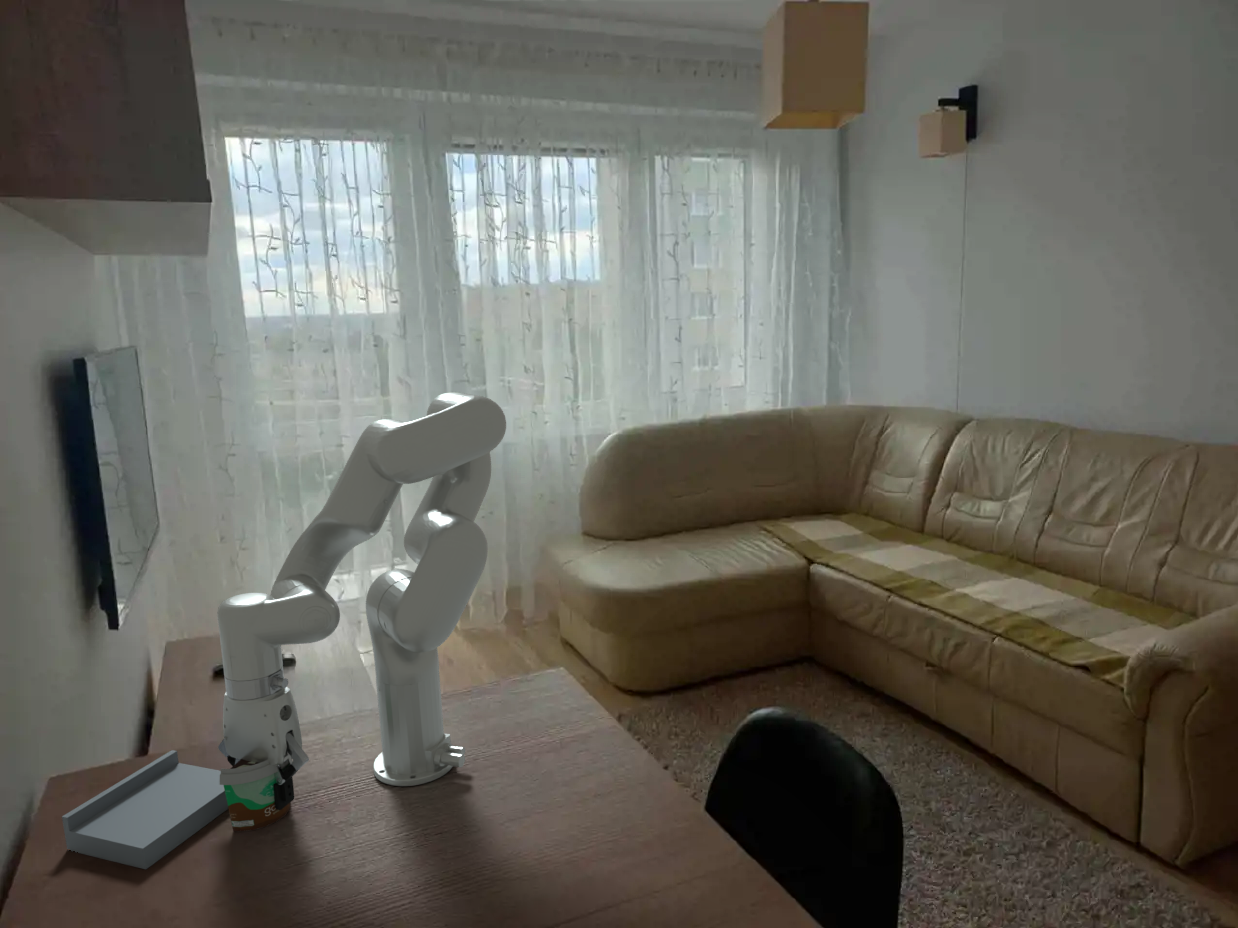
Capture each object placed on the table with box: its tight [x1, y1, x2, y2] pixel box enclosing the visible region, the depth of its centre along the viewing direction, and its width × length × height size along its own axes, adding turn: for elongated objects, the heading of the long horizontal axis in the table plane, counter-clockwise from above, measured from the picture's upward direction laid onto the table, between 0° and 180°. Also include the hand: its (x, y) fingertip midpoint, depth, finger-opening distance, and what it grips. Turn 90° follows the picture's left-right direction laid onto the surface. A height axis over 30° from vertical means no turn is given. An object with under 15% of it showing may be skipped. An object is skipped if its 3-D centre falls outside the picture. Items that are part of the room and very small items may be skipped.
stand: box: [61, 749, 229, 870], centre depth 119 cm, size 14×18×5 cm
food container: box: [220, 753, 292, 832], centre depth 119 cm, size 12×6×10 cm, turn 167°
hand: (267, 799), depth 120 cm, fingers closed on food container, 5 cm apart
